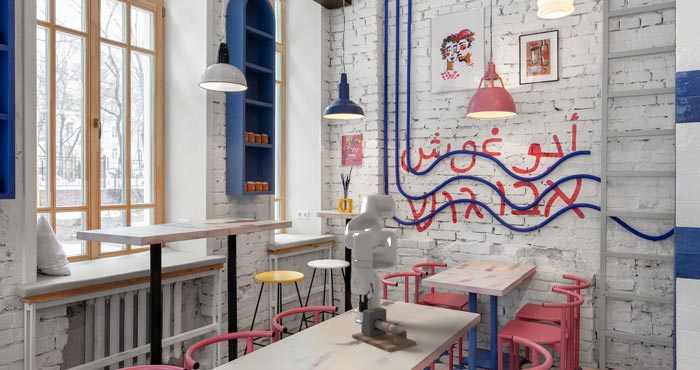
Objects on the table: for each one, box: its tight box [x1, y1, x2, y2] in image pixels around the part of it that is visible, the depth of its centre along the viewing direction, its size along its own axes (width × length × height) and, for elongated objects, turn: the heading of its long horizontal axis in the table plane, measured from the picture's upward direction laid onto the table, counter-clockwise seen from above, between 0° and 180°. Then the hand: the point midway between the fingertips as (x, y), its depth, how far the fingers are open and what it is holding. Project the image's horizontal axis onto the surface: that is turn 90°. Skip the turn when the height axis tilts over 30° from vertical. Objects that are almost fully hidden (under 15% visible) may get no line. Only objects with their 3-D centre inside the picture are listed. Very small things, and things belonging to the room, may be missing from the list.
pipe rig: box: [351, 319, 417, 353], centre depth 183 cm, size 21×13×7 cm, turn 35°
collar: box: [363, 306, 387, 337], centre depth 187 cm, size 4×8×9 cm, turn 125°
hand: (363, 311), depth 193 cm, fingers closed
